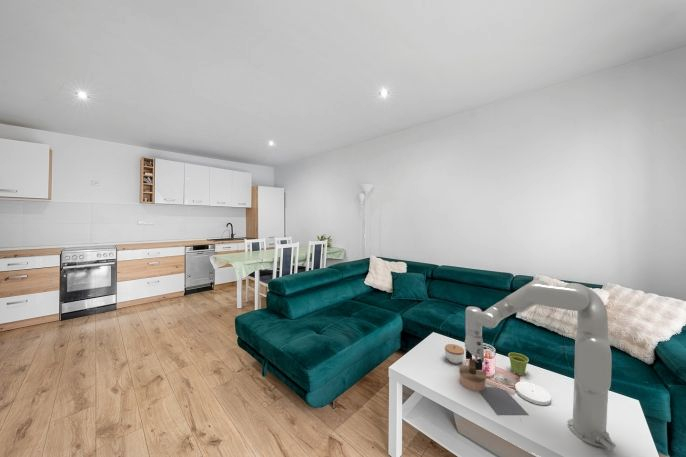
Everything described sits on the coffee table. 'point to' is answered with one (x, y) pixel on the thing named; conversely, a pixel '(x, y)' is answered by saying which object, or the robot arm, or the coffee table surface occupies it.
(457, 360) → the lidded jar
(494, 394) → the mat
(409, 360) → the coffee table surface
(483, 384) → the bowl
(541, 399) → the plastic lid
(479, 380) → the lid
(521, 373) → the plant pot
